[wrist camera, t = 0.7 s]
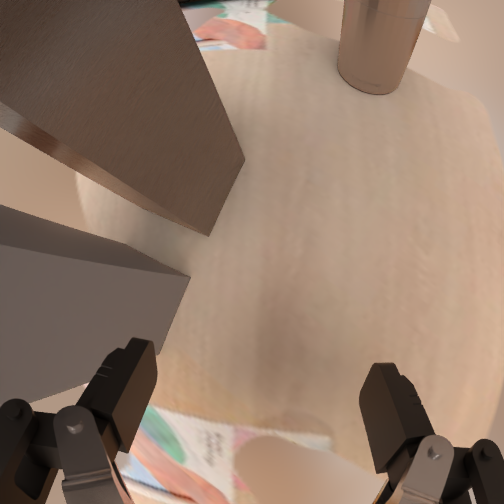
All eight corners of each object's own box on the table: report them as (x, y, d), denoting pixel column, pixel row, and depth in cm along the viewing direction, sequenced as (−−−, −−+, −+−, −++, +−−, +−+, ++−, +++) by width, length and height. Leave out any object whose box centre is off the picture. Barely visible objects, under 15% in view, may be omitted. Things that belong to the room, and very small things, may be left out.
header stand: (175, 138, 36) (10, -63, 3) (245, 159, 34) (110, -131, 1) (140, 207, 35) (-101, 65, 3) (208, 236, 33) (-98, 34, 1)
